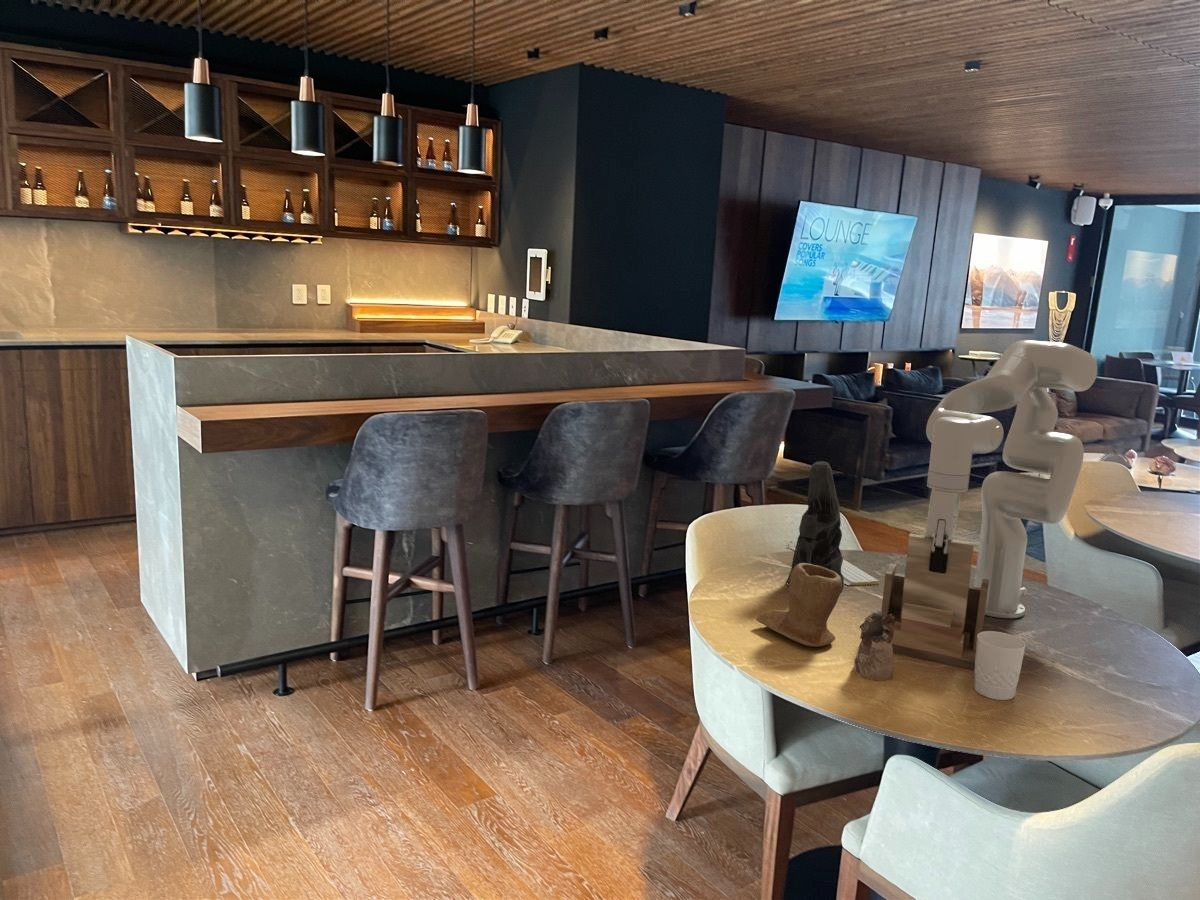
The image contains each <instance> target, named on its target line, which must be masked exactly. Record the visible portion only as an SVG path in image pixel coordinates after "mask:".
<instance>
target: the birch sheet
mask: <svg viewBox="0 0 1200 900" xmlns="http://www.w3.org/2000/svg"><path fill="white" fill-rule="evenodd" d="M907 542H908V543H907V552H906V560H905V570H904V575H905V579H904V589H903V598H902V608H903V606H904V603H908V604H914V605H919V606H925V607H930V608H936V609H941V610H947V611H952V612H953V614H952V620H954V621H959V622H963V629H962V631H963V632H964V625H965V616H966V608H967V599H968V591H969V586H970V581H971V574H972V573H971V572H972V565H973V556H974V548H975V542H971V541H966V540H960V539H951V540H950V541H948V547H947V554H948V560H947V568H946V573H945V574H943V573H937V572H931V571H929V563H930V554H931V551H932V545H933V536H932V537H929V538H926V536H925V535H924V534H917V533H909V535H908V541H907ZM943 543H944V544H945V542H943ZM902 608H901V616H902ZM900 620H902V618H900Z"/></svg>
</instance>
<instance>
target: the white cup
mask: <svg viewBox="0 0 1200 900" xmlns="http://www.w3.org/2000/svg"><path fill="white" fill-rule="evenodd" d="M1025 651H1026V642H1025V641H1024V640H1023V639H1021V638H1020V637H1018V636H1016V635H1013V634H1009V633H1005V632H1001V631H994V630H986V631H982V632H980V633H979V634H978V635H977V644H976V656H975V670H974V680H973V683H974V684H973V687H974V690H975V692H977V693H978V694H980V695H981V696H984V697H986V698H988V699H992V700H996V701H1007V700H1009V701H1010V700H1012V699H1014V697H1015V696H1016V694H1017V693H1016V691H1017V686H1018V683H1019V679H1020V673H1021V670H1022V666H1023V665H1022V664H1023V659H1024V654H1025Z"/></svg>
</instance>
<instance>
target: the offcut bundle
mask: <svg viewBox="0 0 1200 900" xmlns="http://www.w3.org/2000/svg"><path fill="white" fill-rule="evenodd" d="M952 614H953V612H952V611H947V610H941V609H936V608H930V607H925V606H919V605H914V604H908V603H904V606H903V608H902V616H901V618H902V620H901V622H897V621H896V622H895V624H894V626H893V629H894V635H893V638H892V640H891V644H893V645H898V646H903V647H908V648H913V649H918V650H923V651H927V652H932V653H937V654H942V655H947V656H952V657H957V658H961V656H962V651H963V644H964V636H965V635H964V634H962V629H963V622H959V621H954V620H952Z"/></svg>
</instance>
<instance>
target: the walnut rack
mask: <svg viewBox="0 0 1200 900" xmlns="http://www.w3.org/2000/svg"><path fill="white" fill-rule="evenodd" d="M884 573H885V574H884V584H883V585H884V586H883V593H882V603H881V611H880V612H882V614H883V617H884V618H885V617H886V616H888V615H890V614H892V615H893V616H894V619H893V620H892V621H890V623H891V625H892V626H894V624H895V622H896V621H897V622H901V620H900V618H901V608H902V598H903V589H904V579H905V574H901V573H897V563H889V565H888V568H887V570H886V571H885V572H884ZM988 585H989V580H988V579H982V585H981V588H979V587H974V585H969V591H968V599H967V608H966V616H965V625H964V632H963V631H962V634H964V635H965V636H964V644H963V651H962V656H961V658H957V657H952V656H947V655H942V654H937V653H932V652H927V651H923V650H918V649H913V648H908V647H903V646H898V645H893V644H892V649H893V654H897V655H902V656H905V657H906V656H907V657H911V658H916V659H922V660H924V661H925V660H926V661H931V662H935V663H940V664H945V665H948V666H949V665H950V666H955V667H960V668H965V669H969V670H974V671H975V656H976V644H977V635H978V634H979V633H980V632H984V631H983V630H984V622H985V616H986V615H985V608H986V600H987V592H988ZM883 632H884V633H885V634H887V635H888V636H890V632H889V631H888V630H884V631H883Z"/></svg>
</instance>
